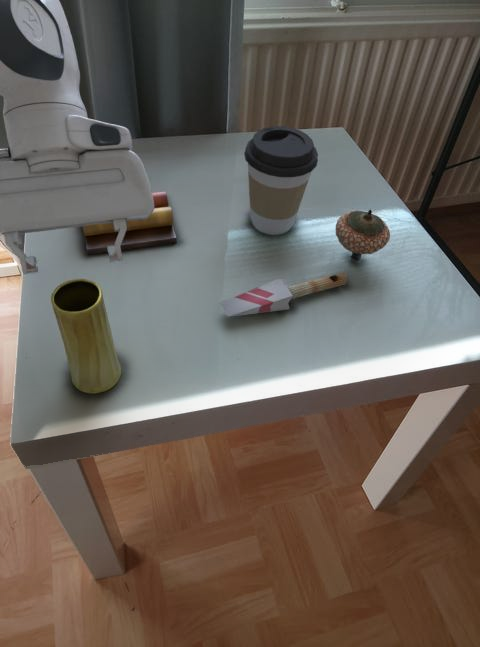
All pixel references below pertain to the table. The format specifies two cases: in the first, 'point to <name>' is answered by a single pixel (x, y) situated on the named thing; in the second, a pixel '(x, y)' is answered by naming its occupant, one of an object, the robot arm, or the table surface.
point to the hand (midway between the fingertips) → (74, 267)
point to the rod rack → (135, 229)
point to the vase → (86, 335)
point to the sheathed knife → (277, 295)
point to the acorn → (362, 233)
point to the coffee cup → (278, 176)
